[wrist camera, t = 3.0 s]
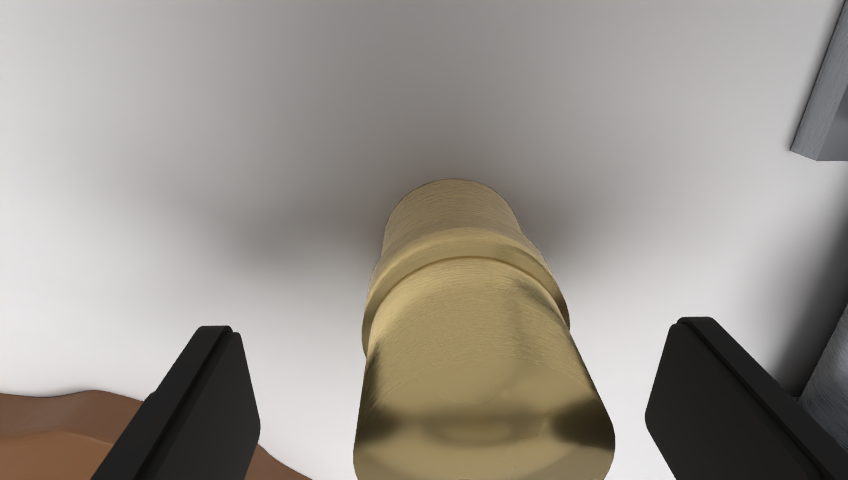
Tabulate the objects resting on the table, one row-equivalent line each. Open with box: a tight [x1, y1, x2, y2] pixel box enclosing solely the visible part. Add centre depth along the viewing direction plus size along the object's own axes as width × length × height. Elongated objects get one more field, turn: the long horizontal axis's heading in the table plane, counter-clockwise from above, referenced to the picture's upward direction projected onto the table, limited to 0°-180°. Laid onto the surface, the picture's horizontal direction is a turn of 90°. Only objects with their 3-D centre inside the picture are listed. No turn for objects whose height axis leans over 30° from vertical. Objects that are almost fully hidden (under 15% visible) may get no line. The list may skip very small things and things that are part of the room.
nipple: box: [353, 179, 615, 480], centre depth 11 cm, size 5×5×8 cm
